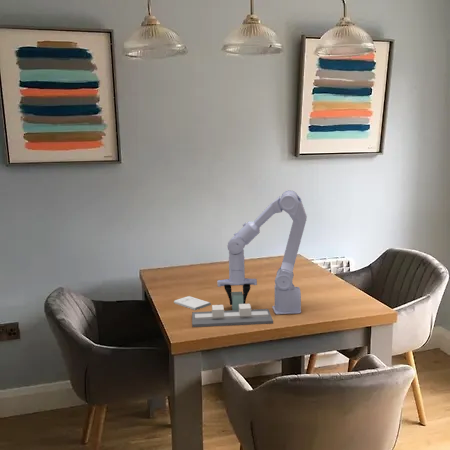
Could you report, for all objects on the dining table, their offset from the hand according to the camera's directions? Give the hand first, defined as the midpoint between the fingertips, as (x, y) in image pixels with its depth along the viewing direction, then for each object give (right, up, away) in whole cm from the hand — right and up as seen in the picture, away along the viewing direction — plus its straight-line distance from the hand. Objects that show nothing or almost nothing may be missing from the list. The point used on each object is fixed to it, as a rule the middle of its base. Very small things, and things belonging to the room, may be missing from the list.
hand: (237, 303), depth 200 cm
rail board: (-2, -4, -10) cm, 11 cm away
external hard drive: (-17, -2, +7) cm, 19 cm away
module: (0, -2, 0) cm, 2 cm away
